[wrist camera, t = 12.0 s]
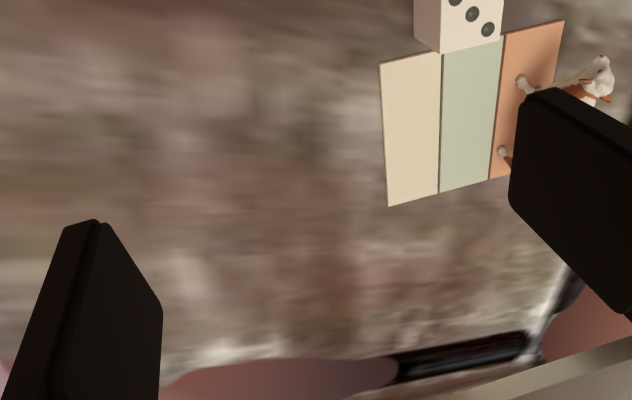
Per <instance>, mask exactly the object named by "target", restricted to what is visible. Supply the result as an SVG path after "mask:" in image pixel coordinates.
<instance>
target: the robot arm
mask: <svg viewBox="0 0 632 400" xmlns="http://www.w3.org/2000/svg"><path fill="white" fill-rule="evenodd" d="M508 200H509V203H510V205H511V207H512V209H513V210H514V211H515V212H516V213H517V214H518V215H519V216H520V217H521V218H522V219H523V220H524V221H525V222H526V223H527V224H528V225H529V226H530V227H531V228H532V229H533V230H534V231H535V232H536V233H537V234H538V235H539V236H540V237H541V238H542V239H543V240H544V241H545V242H546V243H547V244H548V245H549V246H550V247H551V248H552V249H553V251H554V252H555V253H556V254H557V255H558V256H559V257H560V258H561V259H562V260H563V261H564V262H565V263H566V264H567V265H568V266H569V267H570V268H571V269H572V270H573V271H574V272H575V273H576V274H577V275H578V276H579V277H580V278H581V279H582V280H583V281H584V282H585V283H586V284H587V285H588V286H589V287H590V288H591V289H592V290H593V291H594V292H595V293H596V294H597V295H598V296H599V297H600V298H601V299H602V300H603V301H604V302H605V303H606V304H607V305H608V306H609V307H610V308H611V309H612V310H613V311H614V312H616V313H619V314H624V315H625V316H626V317H627V318H628V319H629V320H630V321H631V322H632V128H630V127H628V126H627V125H625V124H623V123H621V122H620V121H618V120H616V119H614V118H612V117H611V116H609V115H607V114H605V113H603V112H602V111H600V110H598V109H596V108H594V107H593V106H591V105H589V104H587V103H585V102H584V101H582V100H580V99H578V98H576V97H575V96H573V95H571V94H569V93H568V92H566V91H564V90H562V89H560V88H558V87H551V88H547V89H544V90H540V91H537V92H533V93H530V94H528V95H527V96H526V98H525V100H524V102H522V103H521V104H520V106H519V109H518V116H517V124H516V132H515V140H514V149H513V157H512V165H511V173H510V182H509V190H508ZM162 327H163V310H162V307H161V304H160V302H159V300H158V298H157V297H156V295H155V294H154V292H153V291H152V289H151V288H150V286H149V284H148V283H147V281H146V280H145V278H144V277H143V275H142V274H141V272H140V271H139V269H138V267H137V266H136V264H135V263H134V261H133V260H132V258H131V257H130V255H129V254H128V252H127V250H126V249H125V247H124V246H123V244H122V243H121V241H120V240H119V238H118V237H117V235H116V234H115V232H114V230H113V229H112V227H111V226H110V225H109V224H108V223H101V224H100V222H99V221H97V220H96V219H90V220H87V221H83V222H80V223H76V224H73V225H69V226H67V227H65V228H64V229H63V231H62V234H61V236H60V239H59V242H58V244H57V247H56V250H55V253H54V255H53V258H52V261H51V264H50V266H49V269H48V272H47V274H46V277H45V280H44V283H43V285H42V288H41V291H40V294H39V296H38V299H37V302H36V305H35V307H34V310H33V313H32V315H31V318H30V321H29V324H28V326H27V329H26V332H25V335H24V337H23V340H22V343H21V345H20V348H19V351H18V354H17V356H16V359H15V362H14V365H13V367H12V370H11V373H10V376H9V378H8V381H7V384H6V386H5V389H4V392H3V395H2V397H1V400H158V392H159V376H160V360H161V343H162ZM440 400H632V336H629V337H626V338H623V339H620V340H617V341H614V342H611V343H608V344H605V345H602V346H599V347H596V348H592V349H590V350H586V351H583V352H580V353H577V354H574V355H571V356H569V357H565V358H562V359H559V360H556V361H553V362H550V363H547V364H544V365H541V366H538V367H535V368H532V369H529V370H526V371H523V372H520V373H517V374H514V375H511V376H508V377H505V378H502V379H499V380H496V381H493V382H490V383H487V384H484V385H481V386H478V387H475V388H472V389H469V390H466V391H463V392H460V393H457V394H454V395H451V396H449V397H446V398H443V399H440Z"/></svg>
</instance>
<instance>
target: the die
mask: <svg viewBox="0 0 632 400" xmlns="http://www.w3.org/2000/svg"><path fill="white" fill-rule="evenodd" d="M503 3H504V0H414V38H416V39H417V40H419V41H420V42H422V43H423V44H425V45H426V46H428V47H429V48H431V49H432V50H434V51H435V52H437V53H438V54H445V53H449V52H453V51H457V50H462V49H466V48H470V47H474V46H479V45H483V44H487V43H491V42H496V41H499V39H500V30H501V21H502V12H503Z"/></svg>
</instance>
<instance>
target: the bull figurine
mask: <svg viewBox="0 0 632 400" xmlns="http://www.w3.org/2000/svg"><path fill="white" fill-rule="evenodd" d="M609 63H610V61H609V59H608V58H607V56H603V55H598V56H596V57H595V58H594V59H593V60H592V62H591V66H590V67H588V68H586V69H584V70H582V71H580V72H579V73H577V74H576V75H575V76H574V77H565V78H562V79H559V80H557V81H556V82H554V83H551V84H550V85H549V86H548V87H547V88H551V87H558V88H560V89H562V90H564V91H566V92H568V93H569V94H571V95H573V96H575V97H576V98H578V99H580V100H582V101H584V102H585V103H587V104H589V105H591V106H593V107H594V105H595V102H596V100H597V98H598V97H600V99H601V100H604V101H606V102H608V103H610V102H612V98H611V97H610V96H609V95H608V94H610V93H611V92H612V91H613V85H614V76H613V74H612V72H611V70H610V67H609ZM516 83H517V84H518V86H517V87H518V88H520V89H523V90H524V91H525V92H526V96H527V95H528V94H530V93H533V92H537V91H540V90H542V88H541V86H539V85H538V86H536V87H535V88H532V87H530V86H529V83H528V82H527V80H526V77H525V75H524V74H520V75H518V76H517V78H516ZM547 88H546V89H547ZM497 152H498V154H499V155H500V158H501V159H503V160H504V161H505V162H506V163H507V164H508V165H509V167H510V169H511V165H512V157H511V156H509V154H508V153H507V150H506V148H505V146H504V145H501V146H499V147H498V148H497Z"/></svg>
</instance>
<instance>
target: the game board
mask: <svg viewBox="0 0 632 400" xmlns="http://www.w3.org/2000/svg"><path fill="white" fill-rule="evenodd" d="M563 26H564V20H558V21H554V22H549V23H545V24H541V25H537V26H533V27H528V28H524V29H520V30H516V31H512V32H507V33H504V35H502V34H500V39H499V41H496V42H491V43H487V44H483V45H479V46H474V47H470V48H466V49H462V50H457V51H453V52H449V53H445V54H442V77H441V54H438V53H437V52H435V51H434V50H432V51H428V52H423V53H419V54H415V55H411V56H407V57H402V58H398V59H394V60H390V61H386V62H381V63H378V64H379V80H380V96H381V113H382V129H383V145H384V162H385V178H386V194H387V205H388V207H389V206H393V205H397V204H400V203H404V202H408V201H411V200H415V199H419V198H422V197H426V196H430V195H433V194H437V182H438V191H439V193H441V192H444V191H448V190H452V189H455V188H459V187H463V186H466V185H470V184H474V183H477V182H481V181H485V180H487V178H489V179H492V178H496V177H499V176H503V175H507V174H510V173H511V169H510V167H509V165H508V164H507V163H506V162H505V161H504V160H503V159H501V158H500V155H499V154H498V152H497V148H498V147H499V146H501V145H504V146H505V148H506V150H507V153H508V154H509V156H511V157H513V149H514V140H515V132H516V124H517V116H518V109H519V106H520V104H521V103H522V102H524V100H525V98H526V92H525V91H524V90H523V89H520V88H518V87H517V86H518V84H517V83H516V78H517V76H518V75H520V74H524V75H525V77H526V80H527V82H528V83H529V86H530V87H532V88H535V87H536V86H538V85H539V86H541V88H542V90H544V89H546V88H547V87H548V86H549V85H550V84H551V83H553V78H554V73H555V67H556V62H557V57H558V52H559V47H560V42H561V37H562V32H563ZM503 38H504V41H503ZM502 47H503V50H502ZM501 56H502V58H501ZM500 64H501V67H500ZM499 73H500V76H499ZM440 77H441V110H440ZM498 82H499V84H498ZM497 91H498V93H497ZM496 99H497V102H496ZM495 108H496V110H495ZM439 112H440V143H439ZM494 117H495V119H494ZM493 125H494V128H493ZM492 134H493V136H492ZM491 143H492V145H491ZM438 147H439V177H438ZM490 152H491V154H490ZM489 160H490V162H489ZM488 169H489V171H488Z"/></svg>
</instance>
